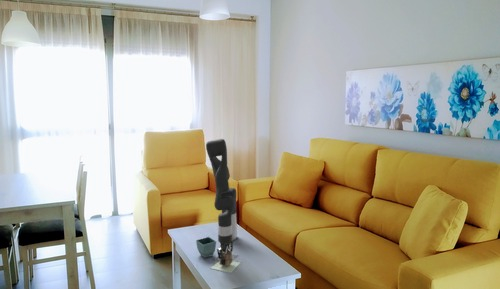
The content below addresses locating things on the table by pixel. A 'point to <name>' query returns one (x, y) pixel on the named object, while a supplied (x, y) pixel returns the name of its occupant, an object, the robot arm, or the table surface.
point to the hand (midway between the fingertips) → (225, 262)
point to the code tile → (232, 257)
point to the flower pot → (206, 246)
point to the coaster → (226, 267)
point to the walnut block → (227, 258)
